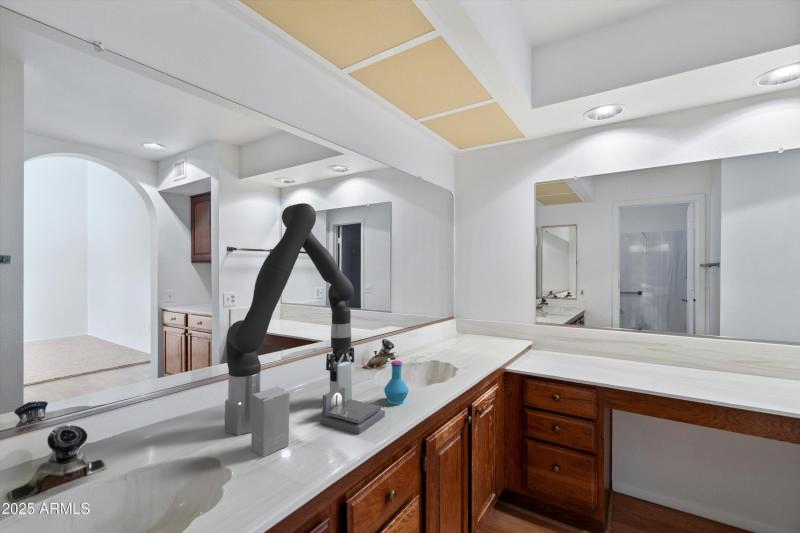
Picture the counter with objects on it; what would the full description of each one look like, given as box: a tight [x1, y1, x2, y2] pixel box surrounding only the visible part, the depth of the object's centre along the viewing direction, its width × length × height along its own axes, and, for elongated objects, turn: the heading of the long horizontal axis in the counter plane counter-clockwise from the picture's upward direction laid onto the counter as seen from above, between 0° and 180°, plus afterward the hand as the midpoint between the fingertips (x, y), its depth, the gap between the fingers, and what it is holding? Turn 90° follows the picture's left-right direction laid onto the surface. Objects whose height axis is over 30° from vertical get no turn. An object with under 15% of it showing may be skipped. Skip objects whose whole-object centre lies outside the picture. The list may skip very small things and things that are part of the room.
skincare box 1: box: [250, 386, 291, 458], centre depth 100 cm, size 8×7×16 cm
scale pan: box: [326, 399, 382, 423], centre depth 120 cm, size 13×13×2 cm
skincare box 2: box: [329, 361, 353, 401], centre depth 136 cm, size 8×6×15 cm
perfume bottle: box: [383, 360, 409, 406], centre depth 138 cm, size 9×9×15 cm
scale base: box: [320, 387, 386, 435], centre depth 120 cm, size 15×17×8 cm
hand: (340, 378), depth 136 cm, fingers open, 8 cm apart
